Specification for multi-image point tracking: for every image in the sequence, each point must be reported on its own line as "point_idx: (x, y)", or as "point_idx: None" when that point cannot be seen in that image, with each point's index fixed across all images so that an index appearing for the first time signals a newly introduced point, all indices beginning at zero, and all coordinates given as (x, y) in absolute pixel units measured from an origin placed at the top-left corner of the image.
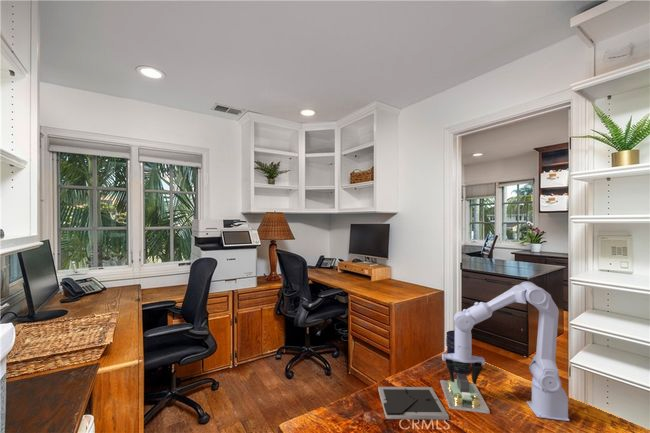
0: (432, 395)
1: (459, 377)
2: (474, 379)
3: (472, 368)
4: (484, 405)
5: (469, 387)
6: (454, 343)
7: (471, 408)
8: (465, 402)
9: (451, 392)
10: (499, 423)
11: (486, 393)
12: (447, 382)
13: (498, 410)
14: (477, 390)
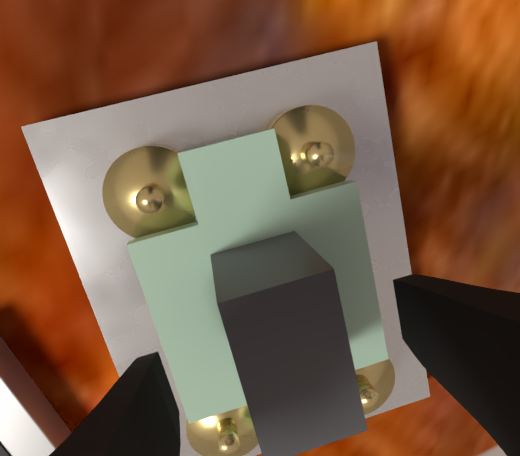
0: (8, 452)
1: (253, 384)
2: (442, 385)
3: (516, 344)
4: (406, 354)
5: (331, 256)
6: None
7: None
8: None
9: None
10: (453, 442)
11: (443, 130)
12: (107, 201)
13: None
14: (384, 162)
